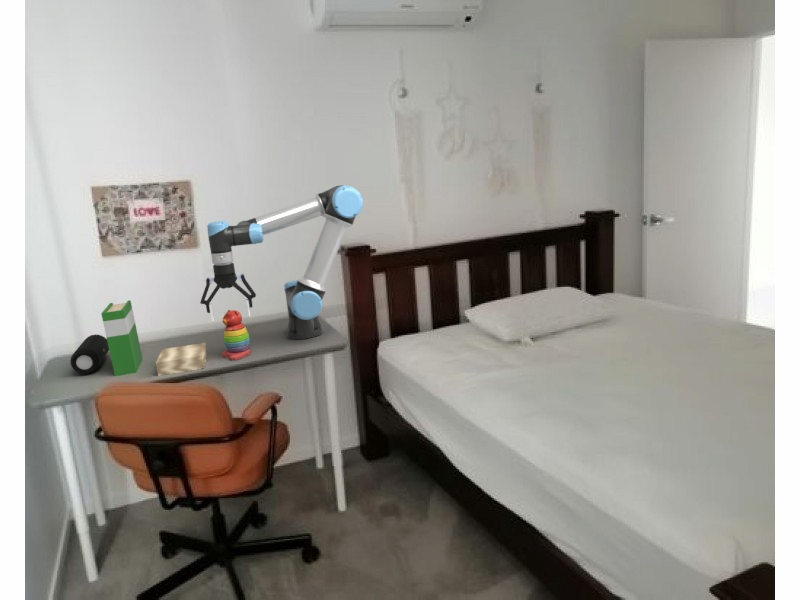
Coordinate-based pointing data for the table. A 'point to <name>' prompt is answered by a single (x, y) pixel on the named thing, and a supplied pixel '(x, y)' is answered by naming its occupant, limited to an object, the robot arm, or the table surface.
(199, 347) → the wooden block
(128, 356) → the hardback book
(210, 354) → the table surface
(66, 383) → the table surface
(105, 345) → the portable speaker
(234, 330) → the stacking bear
